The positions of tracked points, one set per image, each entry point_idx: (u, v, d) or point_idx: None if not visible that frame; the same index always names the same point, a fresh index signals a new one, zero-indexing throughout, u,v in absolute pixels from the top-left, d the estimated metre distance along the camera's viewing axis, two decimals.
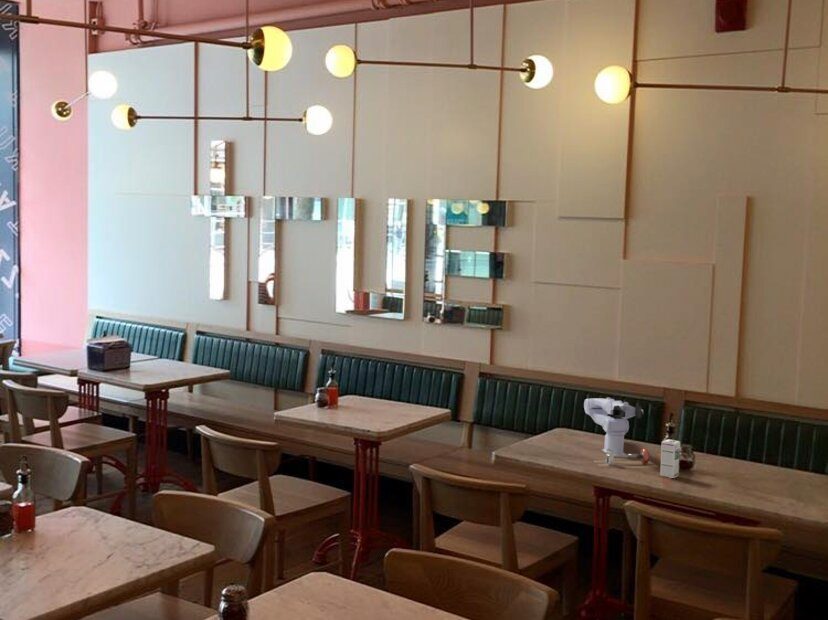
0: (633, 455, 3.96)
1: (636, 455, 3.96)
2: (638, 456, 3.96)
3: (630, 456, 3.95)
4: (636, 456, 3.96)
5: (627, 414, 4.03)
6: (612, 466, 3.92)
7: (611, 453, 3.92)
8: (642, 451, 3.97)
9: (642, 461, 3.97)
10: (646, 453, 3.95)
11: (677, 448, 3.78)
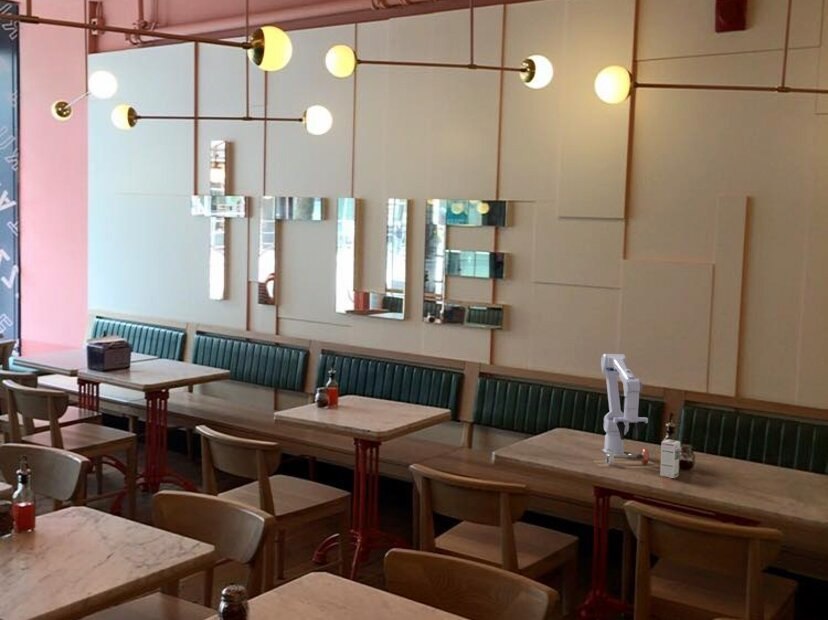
0: (633, 455, 3.96)
1: (636, 455, 3.96)
2: (638, 456, 3.96)
3: (630, 456, 3.95)
4: (636, 456, 3.96)
5: None
6: (612, 466, 3.92)
7: (611, 453, 3.92)
8: (642, 451, 3.97)
9: (642, 461, 3.97)
10: (646, 453, 3.95)
11: (677, 448, 3.78)
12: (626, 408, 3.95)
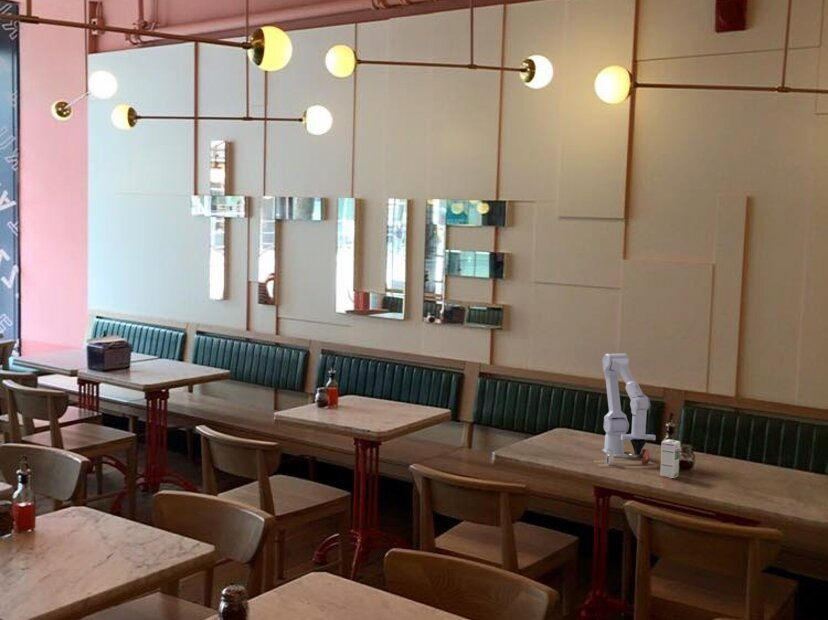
0: (634, 455, 3.96)
1: (636, 455, 3.96)
2: (638, 456, 3.96)
3: (631, 456, 3.95)
4: (636, 456, 3.96)
5: None
6: (612, 466, 3.92)
7: (611, 453, 3.92)
8: (642, 451, 3.97)
9: (642, 461, 3.97)
10: (647, 453, 3.95)
11: (677, 448, 3.78)
12: (634, 425, 3.96)
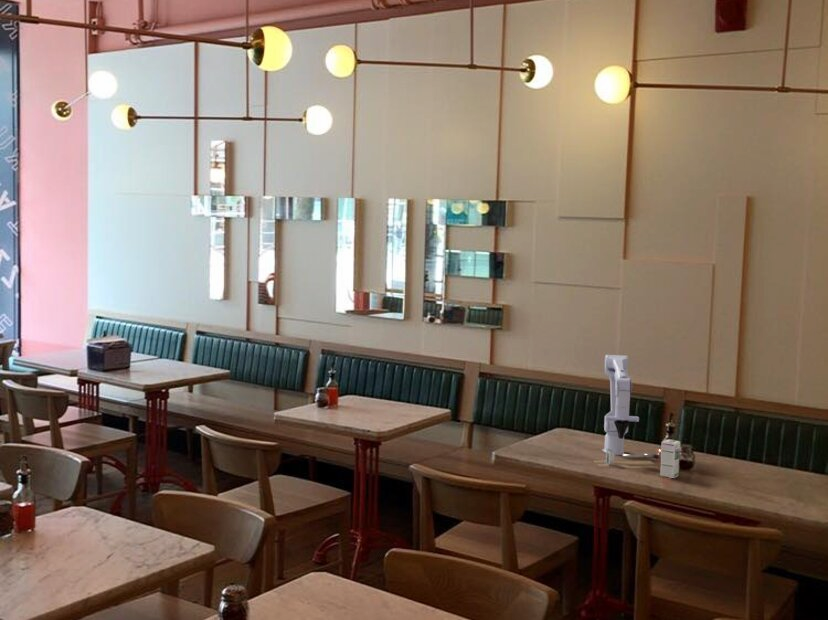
0: (649, 455, 3.97)
1: (652, 455, 3.97)
2: (654, 456, 3.97)
3: (646, 456, 3.96)
4: (652, 456, 3.97)
5: None
6: (612, 466, 3.92)
7: (611, 453, 3.92)
8: (658, 451, 3.98)
9: (658, 461, 3.98)
10: None
11: (677, 448, 3.78)
12: (617, 407, 3.97)
